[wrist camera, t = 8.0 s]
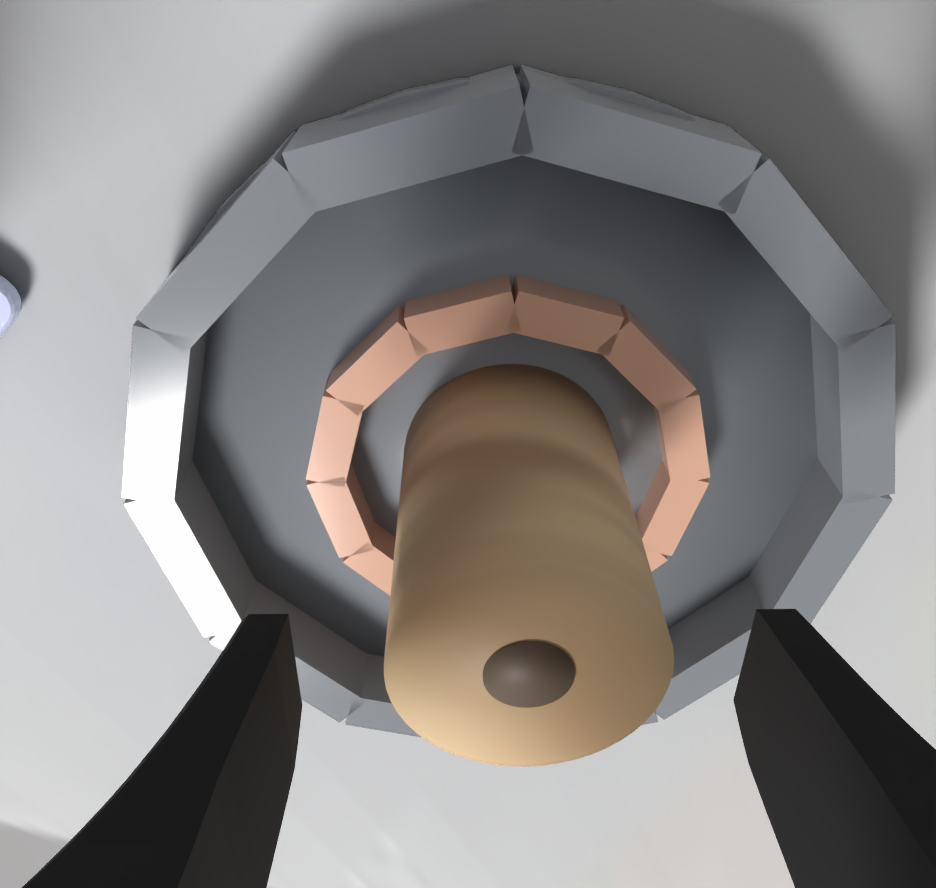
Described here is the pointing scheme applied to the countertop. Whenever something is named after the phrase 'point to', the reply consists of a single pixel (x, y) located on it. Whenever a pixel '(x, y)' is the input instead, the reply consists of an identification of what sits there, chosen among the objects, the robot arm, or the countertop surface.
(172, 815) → the robot arm
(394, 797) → the countertop surface
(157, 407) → the round tray
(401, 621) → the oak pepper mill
